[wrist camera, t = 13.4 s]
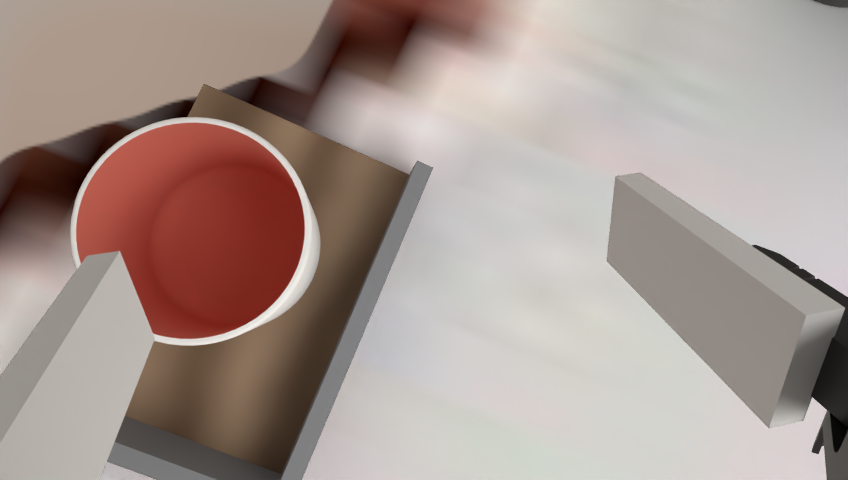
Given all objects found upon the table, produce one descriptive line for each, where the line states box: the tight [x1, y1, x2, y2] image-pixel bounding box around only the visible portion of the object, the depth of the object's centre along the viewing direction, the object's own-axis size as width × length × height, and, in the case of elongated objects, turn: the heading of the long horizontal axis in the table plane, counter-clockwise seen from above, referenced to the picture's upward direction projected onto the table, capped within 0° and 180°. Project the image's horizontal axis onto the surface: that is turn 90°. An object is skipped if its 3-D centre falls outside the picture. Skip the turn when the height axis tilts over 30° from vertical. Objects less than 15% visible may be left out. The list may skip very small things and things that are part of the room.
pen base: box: [125, 84, 409, 474], centre depth 34 cm, size 15×21×1 cm
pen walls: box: [107, 161, 433, 480], centre depth 31 cm, size 15×21×4 cm
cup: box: [70, 117, 320, 346], centre depth 28 cm, size 10×10×10 cm
